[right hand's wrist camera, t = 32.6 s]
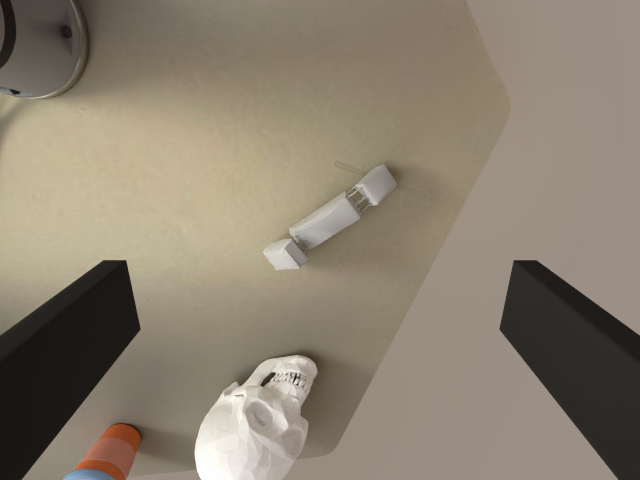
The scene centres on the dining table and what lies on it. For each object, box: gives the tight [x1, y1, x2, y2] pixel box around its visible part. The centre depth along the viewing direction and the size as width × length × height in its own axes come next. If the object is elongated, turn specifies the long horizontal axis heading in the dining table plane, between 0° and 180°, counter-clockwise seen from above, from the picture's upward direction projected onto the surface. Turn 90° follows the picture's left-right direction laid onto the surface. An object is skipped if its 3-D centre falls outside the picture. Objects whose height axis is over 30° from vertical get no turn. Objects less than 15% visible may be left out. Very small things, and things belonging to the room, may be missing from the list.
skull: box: [195, 355, 318, 480], centre depth 54 cm, size 13×22×16 cm, turn 138°
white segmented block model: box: [264, 165, 398, 270], centre depth 47 cm, size 20×4×7 cm, turn 127°
